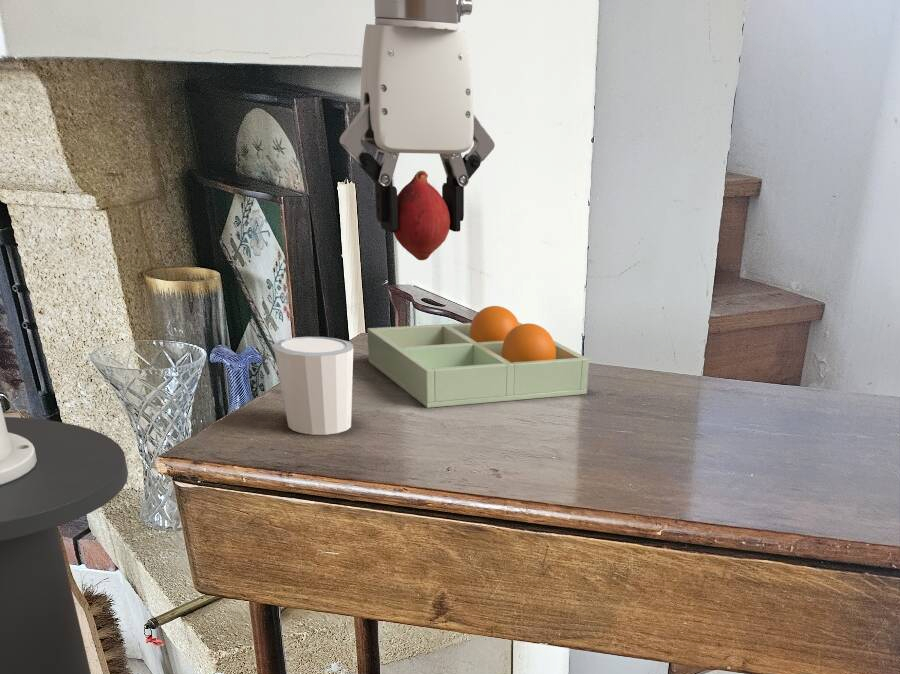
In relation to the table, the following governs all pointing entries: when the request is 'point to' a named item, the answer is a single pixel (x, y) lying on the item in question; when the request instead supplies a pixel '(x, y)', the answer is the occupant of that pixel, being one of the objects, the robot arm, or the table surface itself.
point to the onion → (421, 217)
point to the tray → (469, 367)
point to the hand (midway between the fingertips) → (420, 228)
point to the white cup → (316, 383)
